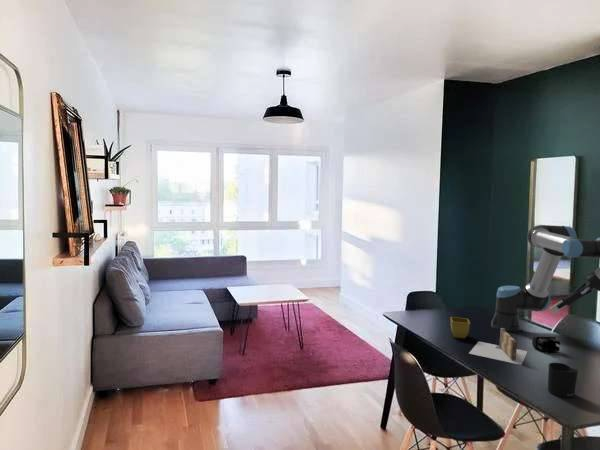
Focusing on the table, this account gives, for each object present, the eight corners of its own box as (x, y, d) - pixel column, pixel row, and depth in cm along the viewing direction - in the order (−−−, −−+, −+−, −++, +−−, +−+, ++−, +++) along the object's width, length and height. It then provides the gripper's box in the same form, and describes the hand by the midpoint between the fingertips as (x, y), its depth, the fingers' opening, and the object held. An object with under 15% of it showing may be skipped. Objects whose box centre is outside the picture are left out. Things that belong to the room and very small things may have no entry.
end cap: (550, 348, 228) (551, 335, 227) (560, 353, 221) (561, 339, 220) (531, 348, 227) (532, 334, 226) (540, 353, 220) (541, 339, 219)
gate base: (478, 342, 232) (478, 340, 232) (527, 352, 221) (527, 350, 221) (468, 354, 214) (468, 352, 214) (521, 365, 202) (521, 364, 202)
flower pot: (469, 340, 234) (470, 323, 233) (450, 338, 236) (452, 321, 235) (466, 335, 243) (467, 318, 242) (449, 333, 244) (450, 316, 244)
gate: (498, 345, 225) (500, 327, 224) (503, 346, 225) (504, 328, 224) (511, 359, 207) (512, 339, 206) (516, 360, 206) (517, 340, 206)
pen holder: (548, 395, 172) (550, 369, 172) (545, 386, 181) (547, 361, 180) (577, 400, 169) (580, 373, 168) (572, 390, 178) (575, 365, 177)
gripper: (608, 288, 185) (556, 321, 195) (607, 283, 196) (558, 315, 206) (593, 273, 188) (543, 307, 198) (593, 269, 199) (546, 301, 209)
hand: (551, 311), depth 202 cm, fingers closed
